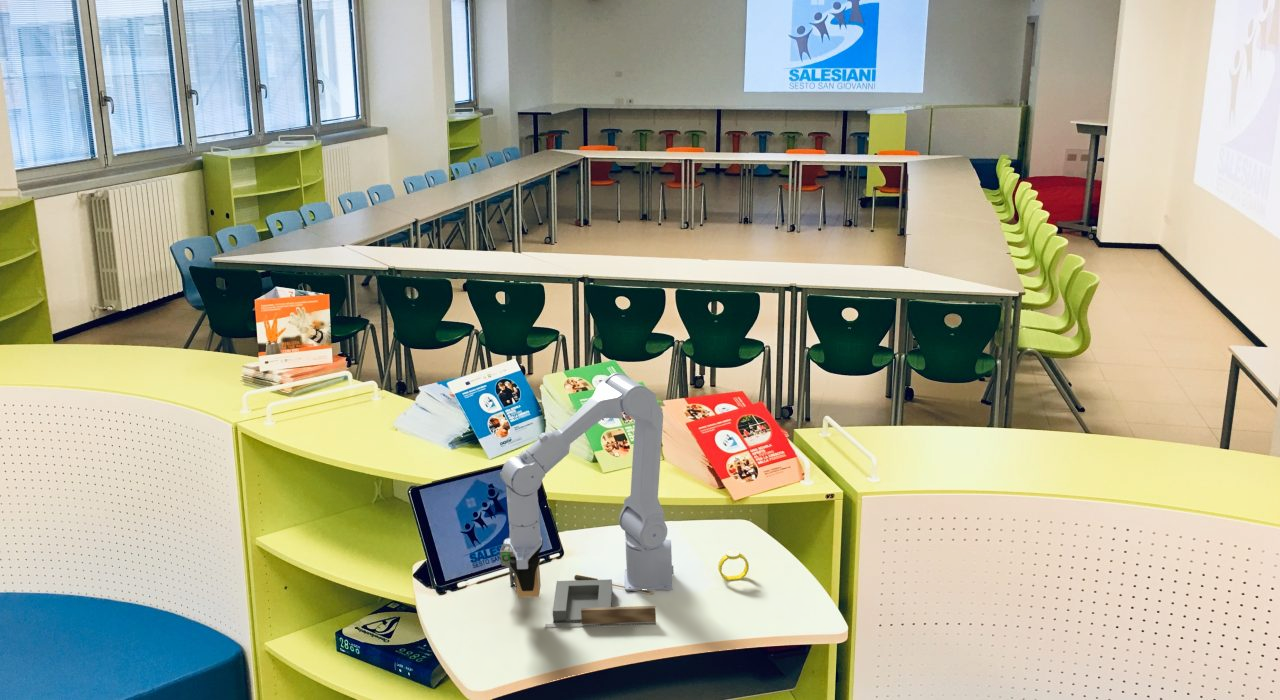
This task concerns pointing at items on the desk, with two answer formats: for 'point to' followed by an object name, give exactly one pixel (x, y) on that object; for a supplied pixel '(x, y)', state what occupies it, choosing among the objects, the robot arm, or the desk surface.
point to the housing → (582, 602)
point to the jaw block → (535, 591)
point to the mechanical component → (508, 561)
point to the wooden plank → (618, 615)
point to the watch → (733, 555)
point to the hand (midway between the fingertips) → (528, 583)
